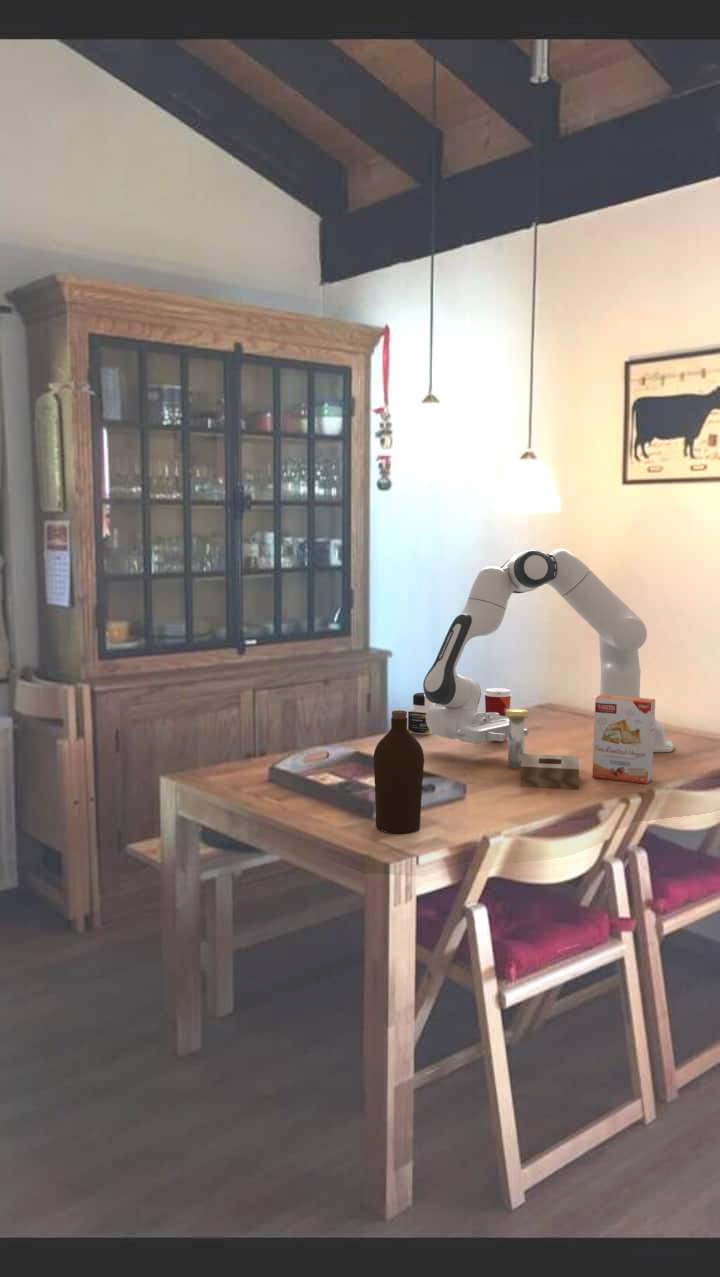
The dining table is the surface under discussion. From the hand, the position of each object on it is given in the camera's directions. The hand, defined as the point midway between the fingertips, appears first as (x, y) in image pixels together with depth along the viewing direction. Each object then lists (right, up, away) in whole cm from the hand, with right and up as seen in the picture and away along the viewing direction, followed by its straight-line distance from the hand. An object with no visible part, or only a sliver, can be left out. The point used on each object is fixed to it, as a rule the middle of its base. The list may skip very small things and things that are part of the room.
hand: (515, 735), depth 274 cm
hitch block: (+6, -10, -14) cm, 18 cm away
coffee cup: (-1, -5, +34) cm, 35 cm away
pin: (0, -8, +1) cm, 9 cm away
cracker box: (+25, -10, -11) cm, 29 cm away
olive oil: (-33, -15, -54) cm, 65 cm away
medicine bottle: (-22, -3, +44) cm, 50 cm away
